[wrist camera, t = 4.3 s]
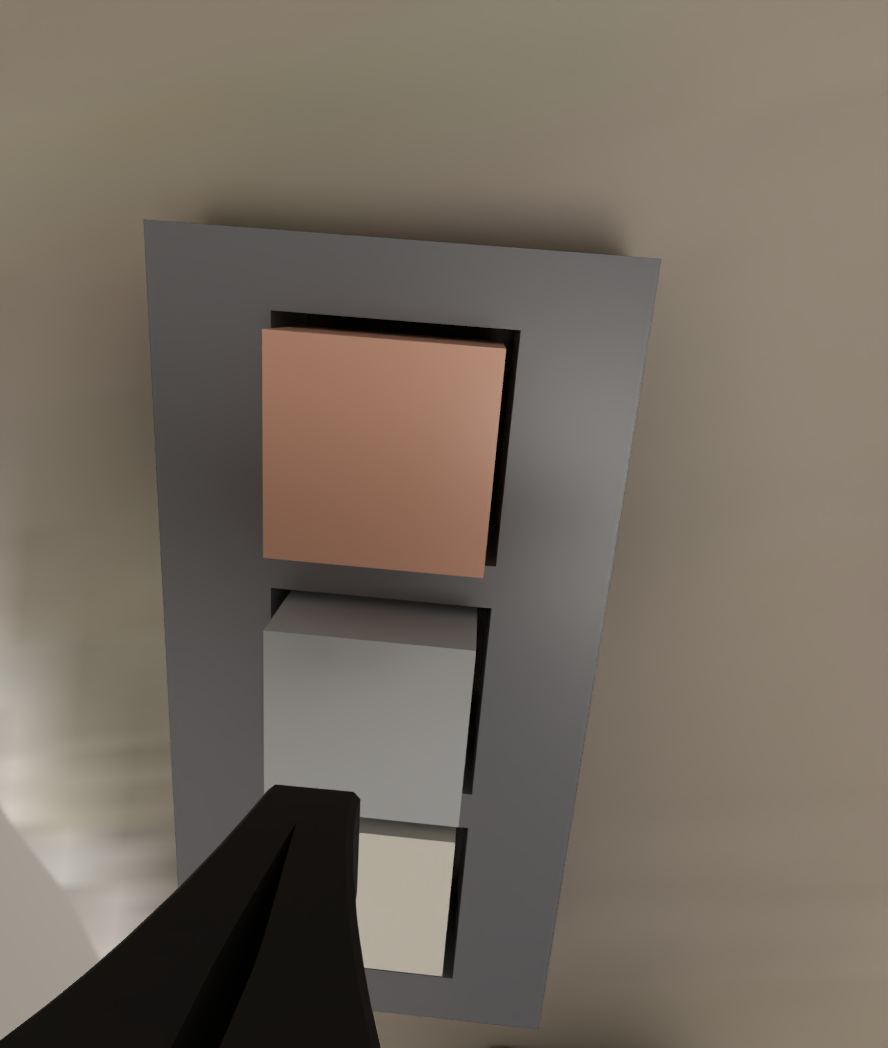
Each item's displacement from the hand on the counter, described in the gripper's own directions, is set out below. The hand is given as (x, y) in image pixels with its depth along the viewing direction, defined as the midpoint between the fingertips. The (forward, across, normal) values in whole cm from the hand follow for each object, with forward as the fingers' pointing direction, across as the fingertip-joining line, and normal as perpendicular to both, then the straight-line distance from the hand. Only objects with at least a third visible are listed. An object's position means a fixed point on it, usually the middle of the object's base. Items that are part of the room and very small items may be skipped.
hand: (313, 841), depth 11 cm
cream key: (+8, 0, +7) cm, 11 cm away
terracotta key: (+7, 0, -5) cm, 9 cm away
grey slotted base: (+9, 0, +1) cm, 9 cm away
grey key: (+7, 0, +1) cm, 7 cm away
